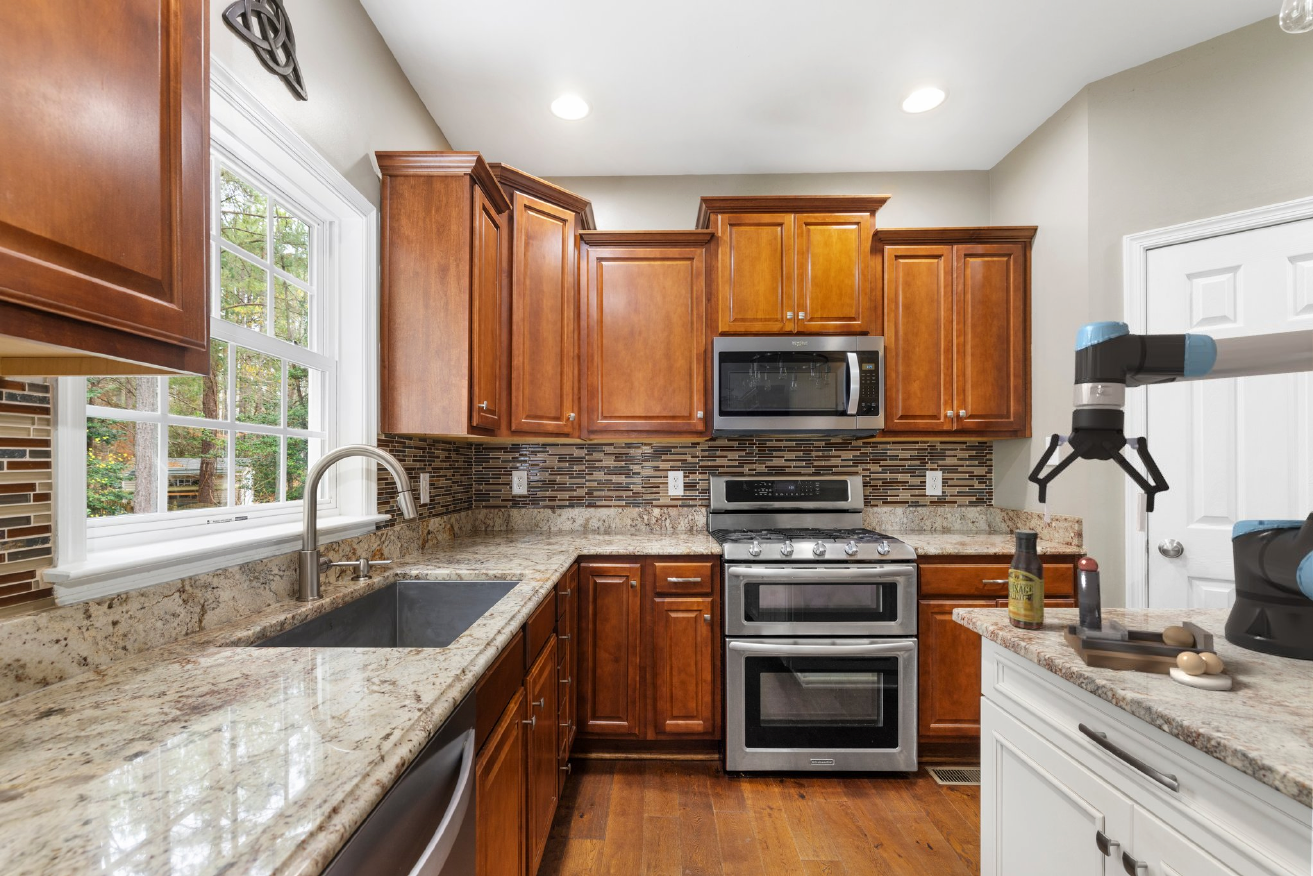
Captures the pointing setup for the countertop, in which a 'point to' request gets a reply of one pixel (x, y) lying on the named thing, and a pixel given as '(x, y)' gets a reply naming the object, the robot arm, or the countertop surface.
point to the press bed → (1138, 650)
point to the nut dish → (1202, 680)
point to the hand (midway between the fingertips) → (1092, 526)
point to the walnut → (1178, 637)
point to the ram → (1094, 606)
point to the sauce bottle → (1026, 583)
